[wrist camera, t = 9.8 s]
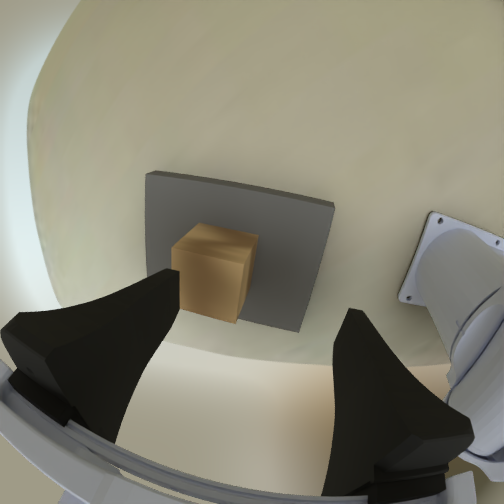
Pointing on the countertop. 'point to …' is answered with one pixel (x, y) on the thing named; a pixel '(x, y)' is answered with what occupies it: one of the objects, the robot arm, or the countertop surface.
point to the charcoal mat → (251, 221)
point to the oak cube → (214, 270)
